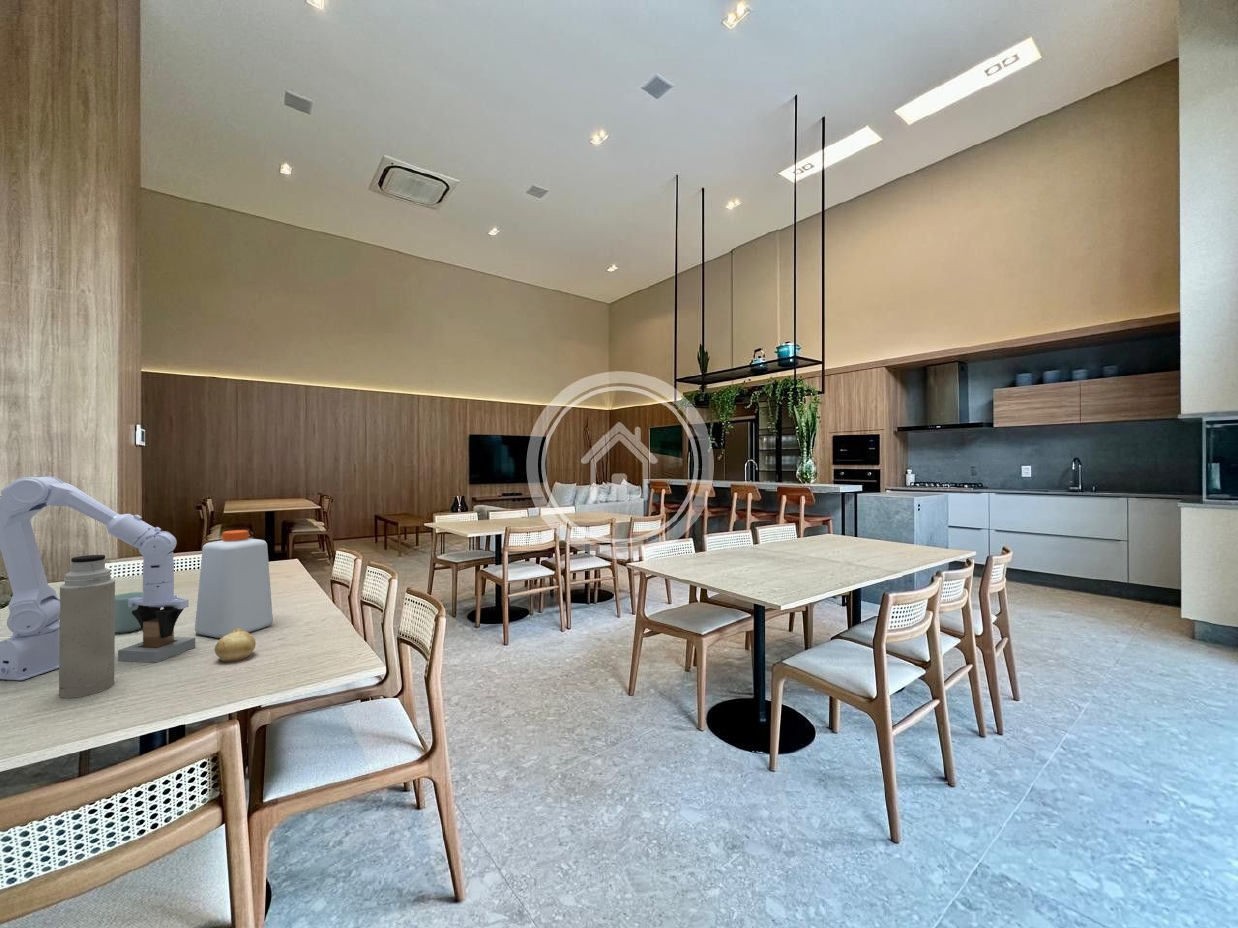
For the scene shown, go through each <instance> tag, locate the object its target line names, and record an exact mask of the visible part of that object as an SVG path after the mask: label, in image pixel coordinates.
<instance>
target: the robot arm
mask: <svg viewBox="0 0 1238 928" xmlns="http://www.w3.org/2000/svg"><path fill="white" fill-rule="evenodd" d="M48 506H49V507H50V506H53V507H68V508H70V509H73V510H75V511H77V512H79V513H81V514H83V515H84V516H85V515H86V516H87V517H89V518H91V519H93V520H95V521H97V522H99V523H101V524H103V525H105V526H106V529H107V533H108V534H109V535H111V536H113V537H115V538H117V539H119V540H120V541H122V542H123V543H125V544H128V545H130V546H132V547H133V548H137V549H138V551H139V552H138V553H140V555H141V556H142V558H143V563H142V592H143V597H136V598H132V599H128V607H134V606H138V608H137V609H136V610H133V611H132V614H133V615H134V616H135V618H136V619H137V620H138V622H139V624H140V626H141V628H140V629H141V631H142V632H143V622H145V621H148V620H152V619H155V618H158V621H159V626H160V635H161V638H166V637H168V636H171V635H172V632H173V629H174V630H175V625H176V622H177V621H178V619H179V617H180V615H181V614H182V612H183V611H184V609H185V608H186V609H187V608H189V599H187V598H186V599H185V598H181V597H178V595H177V594H176V595H175V591H174V590H175V584H174V583H175V579H174V578H175V562H174V550H175V549H176V546H177V543H178V542H177V538H176V537H175V536H174V535H173V534H172V533H171V532H169V531H166V530H165V531H164V530H162V528H160V527H159V526H156V527H154V526H153V525H152V524H151V525H150V524H149V523H147V522H146V521H144V520H142V518H143V516H141V515H139V514H134V515H133V514H131V513H124V514H119V513H118V512H116V511H114V510H113V509H111V508H110V507H108V506H107V505H104V504H103V503H102V502H100V501H98V500H97V499H95V498H94V497H92V496H90V495H88V494H87V493H85V492H84V491H82V490H80V488H77V487H76V486H74V485H73V484H70V483H68V482H64V481H62V480H61V479H60V478H58V477H55V476H51V475H44V476H39V477H31V476H30V477H29V476H27V477H20V478H17V479H15V480H13V481H12V482H10V483H9V484H8V485H6V487H4V488H3V489H1V490H0V551H1V557H2V559H3V563H4V567H5V570H6V572H7V577H8V580H9V584H10V588H11V591H12V596H11V598H10V601H9V604H8V609H9V610H8V611H9V614H8V617H7V620H6V626H7V628H8V630H9V631H10V632H12V636H10V637H9V638H6V639H3V640H2V641H0V680H6V681H7V680H8V681H9V680H10V681H24V680H27V679H30V678H33V677H36V676H40V675H42V674H45V673H48V672H51V671H54V670H57V669H59V622H60V597H58V594H57V591H56V590H55V589H54V588H53V587H52V586H50V585H49V583H48V580H47V575H46V571H45V569H44V566H43V562H42V558H41V555H40V551H39V547H38V544H37V541H36V540H37V539H36V537H35V533H34V528H33V526H32V522H31V519H33V517H35V516H36V515H37V514H38V513H39V512H41V511H42V509H44V508H45V507H48ZM161 608H163V609H161Z"/></svg>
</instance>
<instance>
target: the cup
mask: <svg viewBox="0 0 1238 928" xmlns="http://www.w3.org/2000/svg"><path fill="white" fill-rule="evenodd" d="M136 597H143V591H132V592H124V593H119V594H115V633H118V634H126V633H132V632H136V631H138V630H140V629H142V628H141V626H140V624H139V622H138V620H137V619H136V618H135V616H134V615H133V614H132V611H133V610H136V609H137V608H138V606H134V607H128V599H132V598H136Z"/></svg>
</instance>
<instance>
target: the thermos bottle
mask: <svg viewBox="0 0 1238 928" xmlns="http://www.w3.org/2000/svg"><path fill="white" fill-rule="evenodd" d="M105 560H106V555H104V554H89V555H87V554H86V555H80V556H75V557H72V558H71V565H70V567H71V569H70V571H68V572H67V573H65V575H64V578H63V581H64V584H61V585H59V599H60V619H59V668H58V696H59V697H60V698H63V699H64V698H65V699H72V698H81V697H85V696H89V695H93V694H96V693H100V692H103V691H105V690H107V689H110V688H112V687H113V686H114V685H115V652H116V651H115V642H116V641H115V640H116V639H115V638H116V637H115V633H116V632H115V595H116V580H115V579H113V578H111V575H112V572H111V569H109V568H106V563H105Z"/></svg>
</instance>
